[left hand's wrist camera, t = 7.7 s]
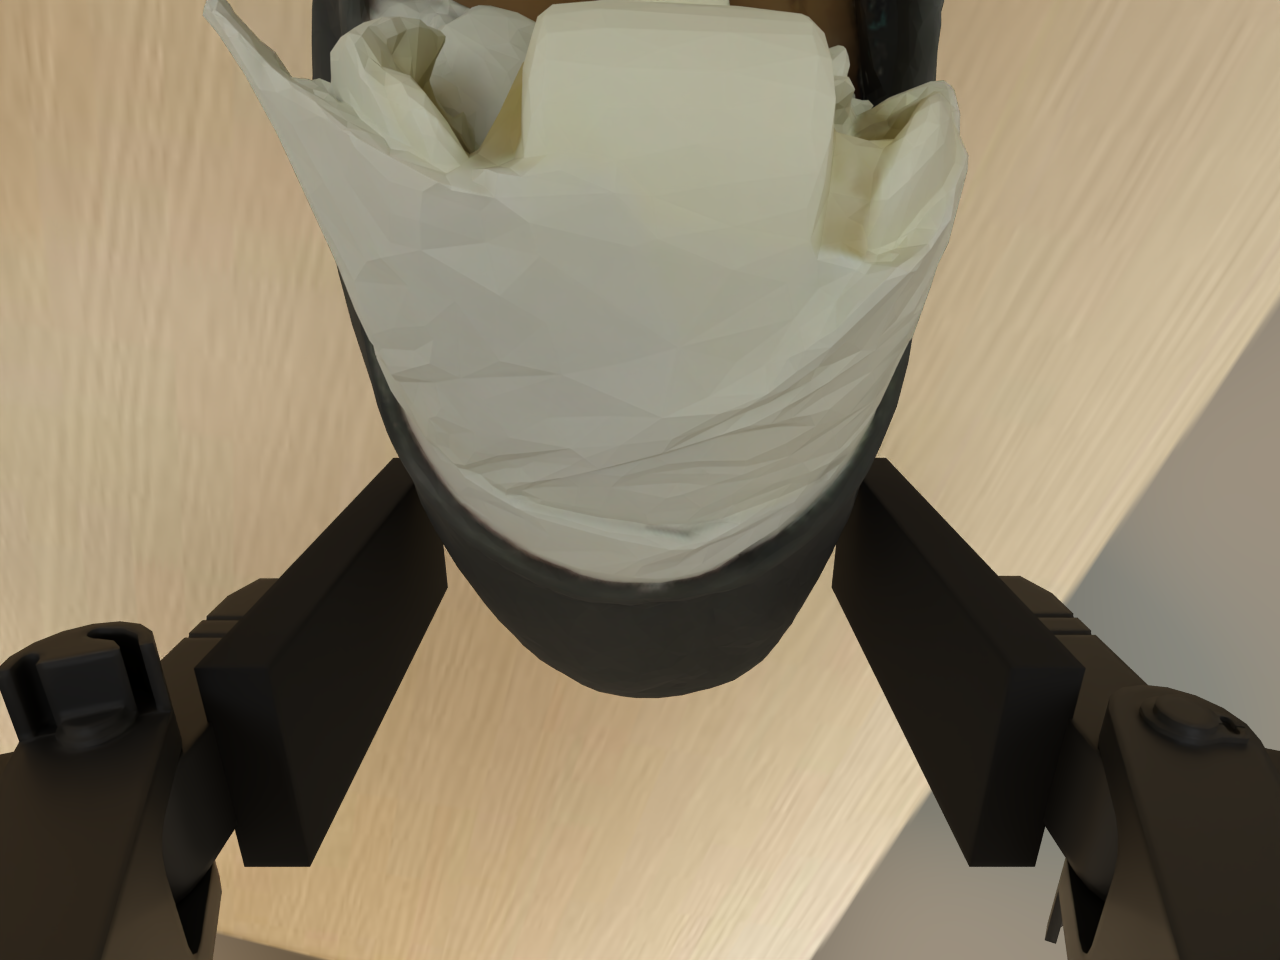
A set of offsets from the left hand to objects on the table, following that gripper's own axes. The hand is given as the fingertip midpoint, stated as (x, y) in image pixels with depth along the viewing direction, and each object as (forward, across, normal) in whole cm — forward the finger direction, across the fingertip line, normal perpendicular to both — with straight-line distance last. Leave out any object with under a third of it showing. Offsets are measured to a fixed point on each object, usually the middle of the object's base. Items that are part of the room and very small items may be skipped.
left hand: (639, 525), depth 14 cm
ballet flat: (+1, 0, -9) cm, 9 cm away
